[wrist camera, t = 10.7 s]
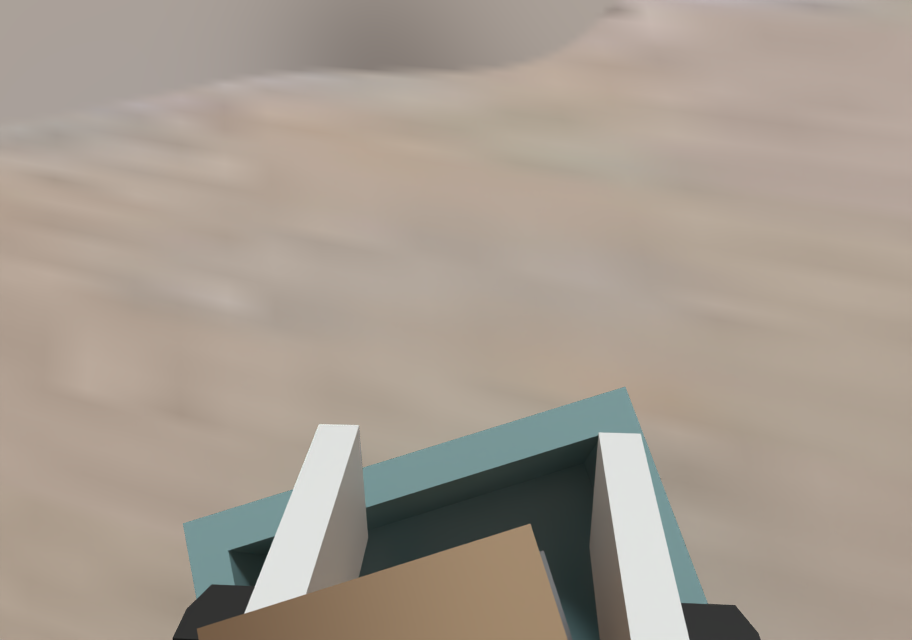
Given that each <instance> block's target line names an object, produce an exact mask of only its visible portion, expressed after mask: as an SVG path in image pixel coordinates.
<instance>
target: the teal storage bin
mask: <svg viewBox="0 0 912 640" xmlns="http://www.w3.org/2000/svg"><path fill="white" fill-rule="evenodd" d="M599 432H601V433H635V434H641V437H642V442H643V446H644V450H645V454H646V458H647V463H648V467H649V471H650V475H651V480H652V484H653V488H654V492H655V496H656V501H657V505H658V509H659V513H660V517H661V522H662V526H663V530H664V534H665V539H666V543H667V547H668V551H669V555H670V560H671V564H672V568H673V572H674V577H675V581H676V585H677V589H678V593H679V598H680V602H681V603H696V604H708V603H707V600H706V598H705V595H704V593H703V590H702V587H701V585H700V582H699V579H698V577H697V574H696V571H695V569H694V566H693V564H692V561H691V558H690V556H689V553H688V550H687V548H686V545H685V543H684V540H683V537H682V535H681V532H680V529H679V527H678V524H677V522H676V519H675V516H674V514H673V511H672V508H671V506H670V503H669V501H668V498H667V495H666V493H665V490H664V487H663V485H662V482H661V480H660V477H659V474H658V472H657V469H656V466H655V464H654V461H653V458H652V456H651V453H650V451H649V448H648V445H647V443H646V440H645V437H644V435H643V432H642V430H641V427H640V424H639V422H638V419H637V416H636V414H635V411H634V409H633V406H632V403H631V401H630V398H629V395H628V393H627V390H626V388H625V387H623V388H620V389H616V390H613V391H610V392H607V393H603V394H600V395H597V396H594V397H590V398H587V399H584V400H581V401H578V402H574V403H571V404H568V405H565V406H561V407H558V408H555V409H552V410H548V411H545V412H542V413H539V414H535V415H532V416H529V417H526V418H523V419H519V420H516V421H513V422H510V423H506V424H503V425H500V426H497V427H493V428H490V429H487V430H484V431H481V432H477V433H474V434H471V435H468V436H464V437H461V438H458V439H455V440H451V441H448V442H445V443H442V444H438V445H435V446H432V447H429V448H426V449H422V450H419V451H416V452H413V453H409V454H406V455H403V456H400V457H396V458H393V459H390V460H387V461H384V462H380V463H377V464H374V465H371V466H367V467H364V468H363V480H364V493H365V505H366V517H367V530H368V541H367V545H366V549H365V553H364V557H363V561H362V565H361V570H360V574H359V577H362V576H365V575H369V574H372V573H375V572H378V571H381V570H385V569H388V568H391V567H394V566H397V565H400V564H404V563H407V562H410V561H413V560H416V559H419V558H423V557H426V556H429V555H432V554H435V553H438V552H442V551H445V550H448V549H451V548H454V547H457V546H461V545H464V544H467V543H470V542H473V541H476V540H480V539H483V538H486V537H489V536H492V535H496V534H499V533H502V532H505V531H508V530H511V529H515V528H518V527H521V526H524V525H527V524H531V527H532V530H533V533H534V536H535V540H536V543H537V546H538V549H539V552H540V551H543V550H544V553H545V556H546V559H547V562H548V565H549V568H550V571H551V574H552V578H553V581H554V584H555V587H556V590H557V593H558V596H559V599H560V602H561V605H562V608H563V612H564V615H565V618H566V621H567V624H568V627H569V630H570V633H571V636H572V639H573V640H600V637H599V628H598V619H597V610H596V601H595V592H594V584H593V575H592V566H591V557H590V548H589V545H590V533H591V520H592V508H593V496H594V483H595V471H596V459H597V446H598V434H599ZM292 491H293V490H290V491H287V492H283V493H280V494H277V495H274V496H270V497H267V498H264V499H261V500H257V501H254V502H251V503H248V504H245V505H241V506H238V507H235V508H232V509H228V510H225V511H222V512H219V513H215V514H212V515H209V516H206V517H203V518H199V519H196V520H193V521H190V522H186V523H183V526H184V532H185V538H186V543H187V549H188V554H189V560H190V565H191V571H192V576H193V582H194V588H195V593H196V599H197V598H198V597H199V596H200V595H201V594H202V593H203V592H204V591H205V590H206V589H207V588H208V587H209V586H210V585H211V584H217V585H240V586H255V585H256V583H257V580H258V578H259V575H260V572H261V570H262V567H263V565H264V562H265V560H266V557H267V555H268V552H269V550H270V547H271V545H272V542H273V540H274V537H275V534H276V532H277V529H278V527H279V524H280V522H281V519H282V517H283V514H284V512H285V509H286V507H287V504H288V502H289V499H290V496H291V494H292Z"/></svg>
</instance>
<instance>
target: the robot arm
mask: <svg viewBox="0 0 912 640" xmlns="http://www.w3.org/2000/svg"><path fill="white" fill-rule="evenodd" d="M367 541H368V530H367V517H366V505H365V493H364V480H363V468H362V456H361V443H360V431H359V425H331V424H319V426H318V428H317V431H316V433H315V436H314V438H313V441H312V443H311V446H310V448H309V451H308V453H307V456H306V458H305V461H304V464H303V466H302V469H301V471H300V474H299V476H298V479H297V481H296V484H295V486H294V489H293V491H292V494H291V496H290V499H289V502H288V504H287V507H286V509H285V512H284V514H283V517H282V519H281V522H280V524H279V527H278V529H277V532H276V534H275V537H274V540H273V542H272V545H271V547H270V550H269V552H268V555H267V557H266V560H265V562H264V565H263V567H262V570H261V572H260V575H259V578H258V580H257V583H256V585H255V586H240V585H217V584H211V585H210V586H209V587H208V588H207V589H206V590H205V591H204V592H203V593H202V594H201V595H200V596H199V597H198V598H197V599H196V600H195V601H194V602H193V603H192V604H191V605H190V606H189V607H188V608H187V609H186V611H185V614H184V616H183V618H182V620H181V622H180V624H179V626H178V628H177V630H176V632H175V634H174V636H173V640H199V639H198V633H197V628H201V627H204V626H207V625H210V624H213V623H216V622H220V621H223V620H226V619H229V618H232V617H235V616H239V615H242V614H245V613H248V612H251V611H254V610H258V609H261V608H264V607H267V606H270V605H274V604H277V603H280V602H283V601H286V600H289V599H293V598H296V597H299V596H302V595H305V594H308V593H312V592H315V591H318V590H321V589H324V588H327V587H331V586H334V585H337V584H340V583H343V582H346V581H350V580H353V579H356V578H359V574H360V570H361V565H362V561H363V557H364V553H365V549H366V545H367ZM589 548H590V557H591V566H592V575H593V584H594V592H595V601H596V610H597V619H598V628H599V637H600V640H760V637H759V634H758V632H757V631H756V630H755V629H754V627H753V626H752V625H751V624H750V623H749V621H748V620H747V619H746V618H745V617H744V615H743V614H742V613H741V612H740V611H739V609H738V608H737V607H736V606H735V605H719V604H696V603H681V602H680V598H679V593H678V589H677V585H676V581H675V577H674V572H673V568H672V564H671V560H670V555H669V551H668V547H667V543H666V539H665V534H664V530H663V526H662V522H661V517H660V513H659V509H658V505H657V501H656V496H655V492H654V488H653V484H652V480H651V475H650V471H649V467H648V463H647V458H646V454H645V450H644V446H643V442H642V437H641V434H635V433H601V432H599V434H598V446H597V459H596V471H595V483H594V496H593V508H592V520H591V533H590V545H589Z"/></svg>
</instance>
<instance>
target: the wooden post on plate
mask: <svg viewBox="0 0 912 640" xmlns="http://www.w3.org/2000/svg"><path fill="white" fill-rule="evenodd" d="M197 633H198V639H199V640H573V639H572V636H571V633H570V630H569V627H568V624H567V621H566V618H565V615H564V612H563V608H562V605H561V602H560V599H559V596H558V593H557V590H556V587H555V584H554V581H553V578H552V574H551V571H550V568H549V565H548V562H547V559H546V556H545V553H544V550H543V551H540V552H539V549H538V546H537V543H536V540H535V536H534V533H533V530H532V527H531V524H527V525H524V526H521V527H518V528H515V529H511V530H508V531H505V532H502V533H499V534H496V535H492V536H489V537H486V538H483V539H480V540H476V541H473V542H470V543H467V544H464V545H461V546H457V547H454V548H451V549H448V550H445V551H442V552H438V553H435V554H432V555H429V556H426V557H423V558H419V559H416V560H413V561H410V562H407V563H404V564H400V565H397V566H394V567H391V568H388V569H385V570H381V571H378V572H375V573H372V574H369V575H365V576H362V577H359V578H356V579H353V580H350V581H346V582H343V583H340V584H337V585H334V586H331V587H327V588H324V589H321V590H318V591H315V592H312V593H308V594H305V595H302V596H299V597H296V598H293V599H289V600H286V601H283V602H280V603H277V604H274V605H270V606H267V607H264V608H261V609H258V610H254V611H251V612H248V613H245V614H242V615H239V616H235V617H232V618H229V619H226V620H223V621H220V622H216V623H213V624H210V625H207V626H204V627H201V628H197Z"/></svg>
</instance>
